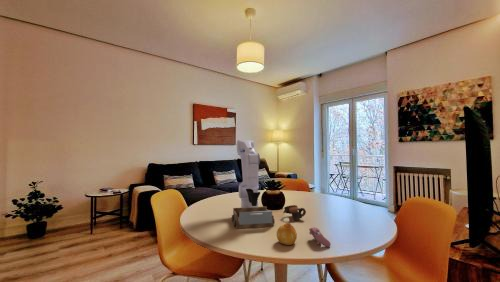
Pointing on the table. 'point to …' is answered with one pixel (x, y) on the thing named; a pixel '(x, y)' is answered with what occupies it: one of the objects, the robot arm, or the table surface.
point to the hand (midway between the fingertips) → (252, 204)
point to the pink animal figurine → (319, 237)
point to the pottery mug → (294, 212)
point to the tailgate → (255, 217)
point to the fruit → (286, 234)
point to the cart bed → (249, 209)
